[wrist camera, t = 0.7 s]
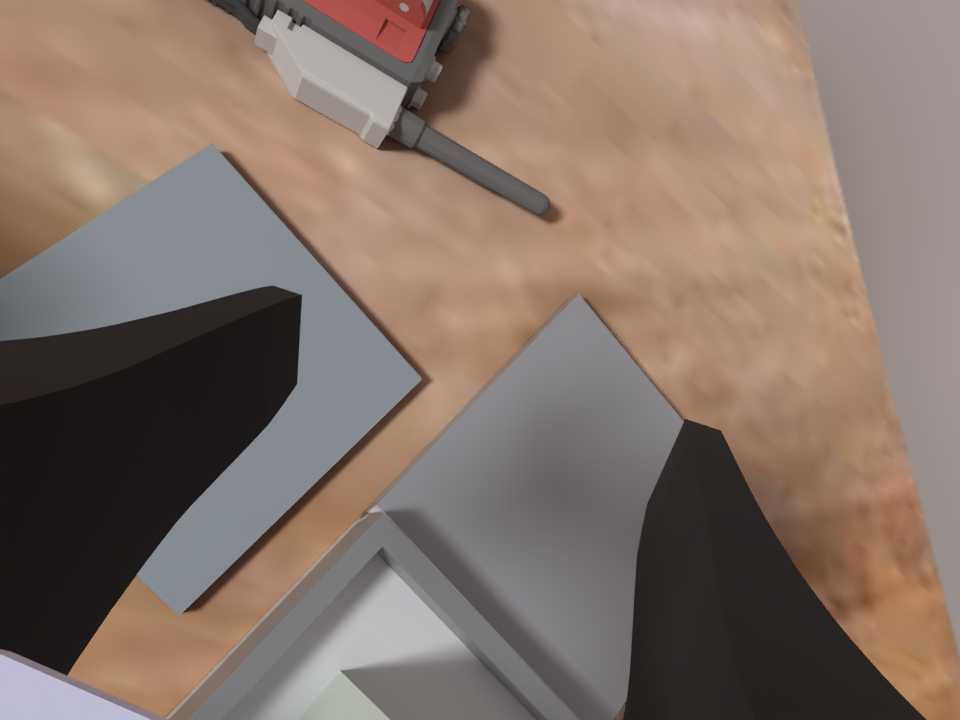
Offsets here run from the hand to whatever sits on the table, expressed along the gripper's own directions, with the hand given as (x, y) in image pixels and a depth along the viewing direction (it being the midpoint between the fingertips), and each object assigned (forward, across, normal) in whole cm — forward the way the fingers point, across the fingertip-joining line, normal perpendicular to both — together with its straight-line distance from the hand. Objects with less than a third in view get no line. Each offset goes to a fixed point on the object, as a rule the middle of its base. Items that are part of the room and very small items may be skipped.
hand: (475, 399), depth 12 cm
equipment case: (+8, -1, +17) cm, 18 cm away
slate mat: (+8, +12, +8) cm, 16 cm away
